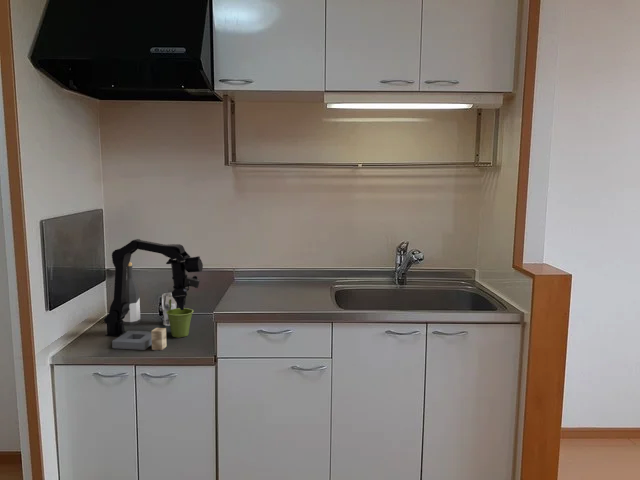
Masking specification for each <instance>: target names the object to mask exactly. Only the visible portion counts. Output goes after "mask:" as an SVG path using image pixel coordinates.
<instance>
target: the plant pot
mask: <svg viewBox="0 0 640 480" xmlns="http://www.w3.org/2000/svg"><path fill="white" fill-rule="evenodd" d="M166 313H167V314H168V318H169V322H170V332H171V336H172V337H173V338H183V337H187V336H189V334H190V327H191V319H192V316H193V313H194V309H191V308H188V307H187V308H185V307H184V310H181V309H180V308H179V307H176V309H171V310H168V311H167V312H166Z"/></svg>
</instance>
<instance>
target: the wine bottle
mask: <svg viewBox="0 0 640 480" xmlns="http://www.w3.org/2000/svg"><path fill="white" fill-rule="evenodd" d="M133 272H134V271H133V263H132V262H131V261H130V262H129V264H128V266H127V273H126V291H125V299H126V301H127V302H130V305H129V309H130V310H129V311H128V313H127V314H126V315H125V318H124V319H122V320H123V323H124V326H135V325H138V324H139V323H141V307H140V306H141V305H140V304H141V303H140V301H141V299H140V290H139V287H138V283H136V281H135V280H134V278H133V277H134V275H133Z"/></svg>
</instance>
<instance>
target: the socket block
mask: <svg viewBox="0 0 640 480" xmlns="http://www.w3.org/2000/svg"><path fill="white" fill-rule="evenodd" d="M111 344H112V349H119V350H120V349H122V350H123V349H124V350H139V351H145V350H146V349H148V348H149V347H150V346H152V334H151V331H145V330H144V331H143V330H127V331H125V333H123V334H121V335H120V336H117V338H115V339H113V340H112V341H111Z"/></svg>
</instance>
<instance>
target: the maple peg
mask: <svg viewBox="0 0 640 480" xmlns="http://www.w3.org/2000/svg"><path fill="white" fill-rule="evenodd" d="M150 332H151V334H152V345H151V350H152V351H153V350H154V351H163V350H165V348H166V347H167V346H168V345H167V327H155V328H154V329H152V330H151V331H150Z"/></svg>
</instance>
